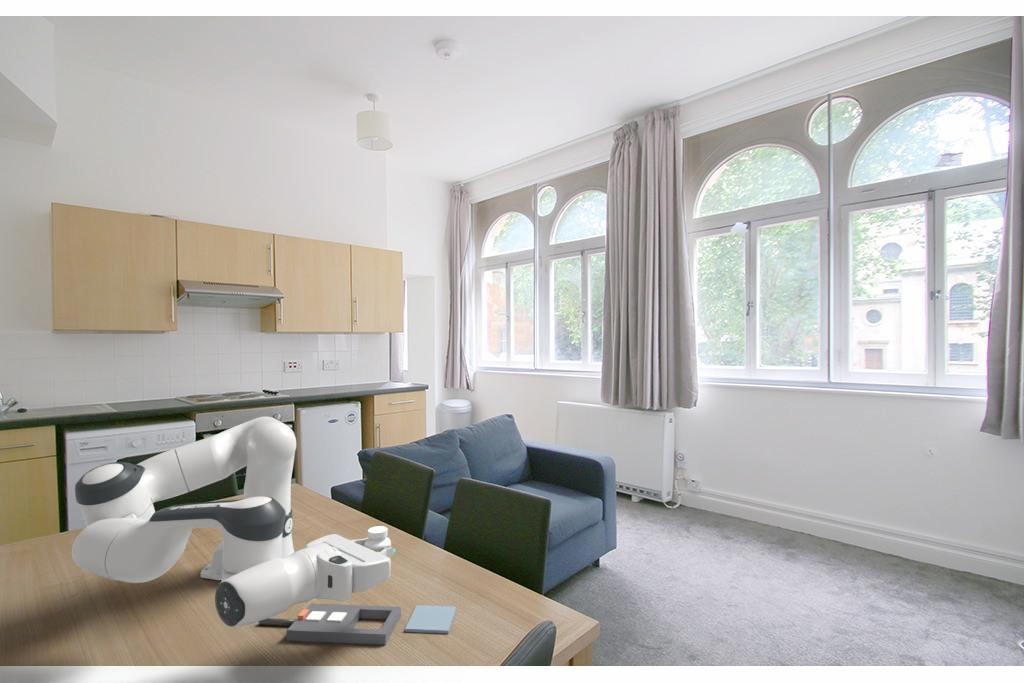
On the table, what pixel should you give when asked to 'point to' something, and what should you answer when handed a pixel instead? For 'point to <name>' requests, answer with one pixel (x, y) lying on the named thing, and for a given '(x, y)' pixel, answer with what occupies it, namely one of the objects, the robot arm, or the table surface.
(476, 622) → the table surface
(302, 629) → the power strip
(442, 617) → the rubber mat
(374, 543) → the supplement bottle
